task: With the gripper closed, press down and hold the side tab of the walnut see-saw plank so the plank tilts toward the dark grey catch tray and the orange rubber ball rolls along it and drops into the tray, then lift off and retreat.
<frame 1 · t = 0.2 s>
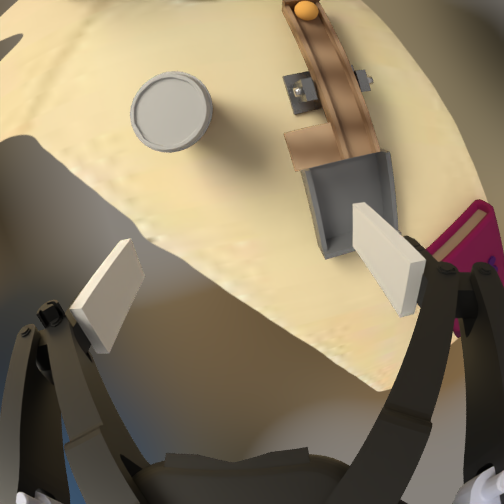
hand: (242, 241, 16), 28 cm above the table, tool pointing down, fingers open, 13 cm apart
lever: (309, 72, 29), point 6 cm above the table, hinge at -14.1°, touching ball
ball: (306, 10, 25), point 5 cm above the table, tilted 10°, touching lever
book: (462, 266, 51), on the table
fulcrum: (323, 88, 35), on the table
disposable coffee cup: (188, 112, 36), on the table
catch tray: (348, 197, 43), on the table
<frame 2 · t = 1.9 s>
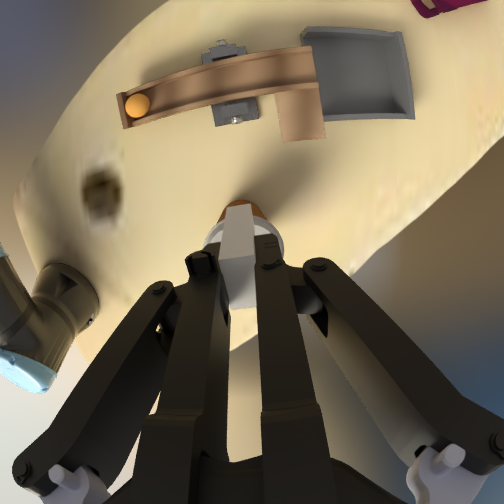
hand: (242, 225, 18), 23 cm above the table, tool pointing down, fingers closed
lever: (214, 107, 29), point 6 cm above the table, hinge at -14.1°, touching ball
ball: (137, 105, 29), point 5 cm above the table, tilted 10°, touching lever
fulcrum: (230, 85, 33), on the table
disposable coffee cup: (241, 219, 42), on the table
catch tray: (353, 74, 32), on the table
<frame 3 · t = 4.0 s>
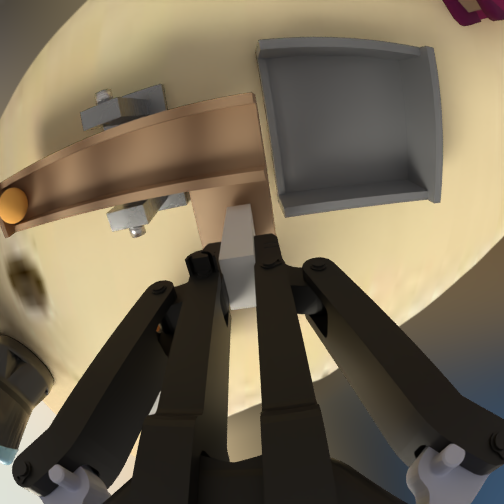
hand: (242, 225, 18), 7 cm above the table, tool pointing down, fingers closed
lever: (99, 213, 18), point 6 cm above the table, hinge at -7.6°, touching ball, gripper
ball: (12, 205, 17), point 6 cm above the table, touching lever
fulcrum: (142, 152, 22), on the table
catch tray: (346, 119, 21), on the table
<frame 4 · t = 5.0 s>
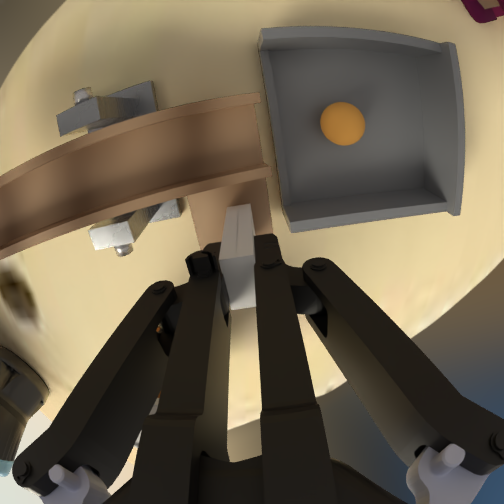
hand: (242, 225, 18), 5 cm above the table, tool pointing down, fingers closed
lever: (81, 233, 15), point 7 cm above the table, hinge at 13.6°, touching gripper
ball: (342, 123, 17), point 2 cm above the table, tilted 78°, touching catch tray
fulcrum: (131, 157, 19), on the table
catch tray: (359, 121, 19), on the table
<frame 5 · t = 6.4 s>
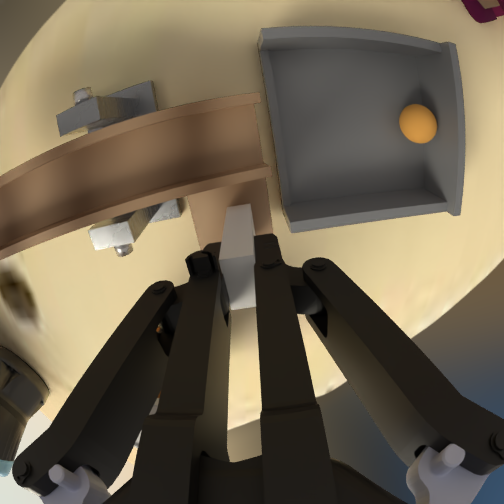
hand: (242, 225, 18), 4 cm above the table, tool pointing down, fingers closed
lever: (81, 233, 15), point 7 cm above the table, hinge at 13.8°, touching gripper
ball: (418, 123, 17), point 2 cm above the table, tilted 128°, touching catch tray
fulcrum: (131, 157, 19), on the table
catch tray: (359, 121, 19), on the table
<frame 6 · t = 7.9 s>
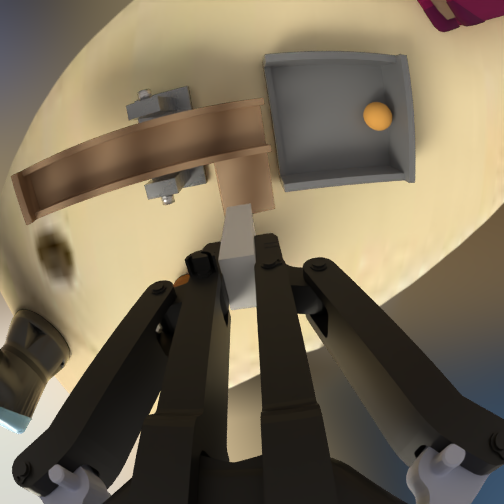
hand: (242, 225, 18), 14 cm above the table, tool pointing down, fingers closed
lever: (140, 186, 23), point 7 cm above the table, hinge at 13.8°
ball: (377, 116, 24), point 2 cm above the table, tilted 136°, touching catch tray
fulcrum: (170, 140, 28), on the table
catch tray: (336, 116, 26), on the table
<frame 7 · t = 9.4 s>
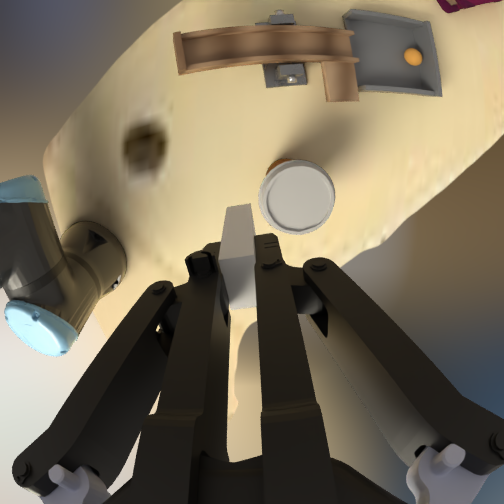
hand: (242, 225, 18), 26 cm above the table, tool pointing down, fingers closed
lever: (278, 64, 28), point 7 cm above the table, hinge at 13.8°
ball: (413, 56, 30), point 2 cm above the table, tilted 145°, touching catch tray
fulcrum: (280, 53, 33), on the table
disposable coffee cup: (285, 177, 43), on the table
catch tray: (388, 55, 32), on the table
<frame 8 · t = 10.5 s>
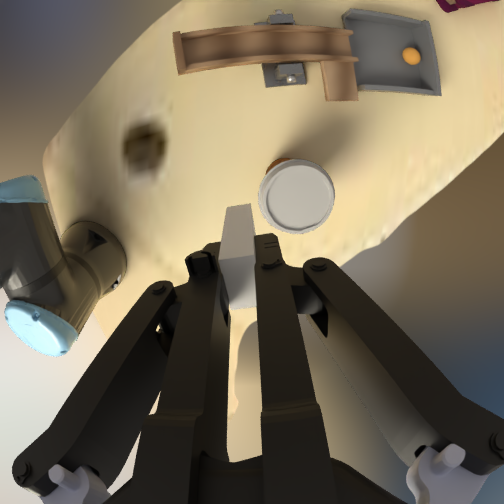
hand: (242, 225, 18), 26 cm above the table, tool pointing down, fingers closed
lever: (277, 63, 28), point 7 cm above the table, hinge at 13.8°
ball: (411, 56, 30), point 2 cm above the table, tilted 151°, touching catch tray
fulcrum: (280, 53, 33), on the table
disposable coffee cup: (285, 177, 43), on the table
catch tray: (387, 54, 32), on the table
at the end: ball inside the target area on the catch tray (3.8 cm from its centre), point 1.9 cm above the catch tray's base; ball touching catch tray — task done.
